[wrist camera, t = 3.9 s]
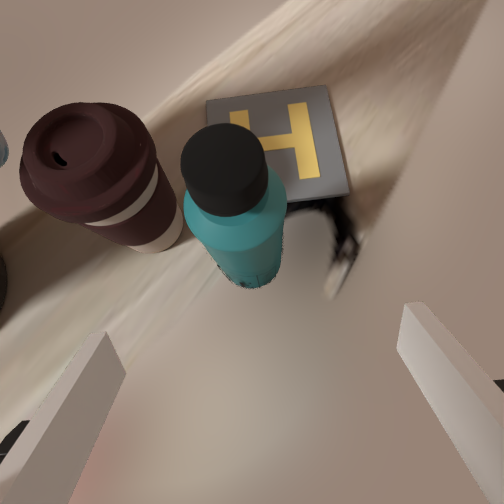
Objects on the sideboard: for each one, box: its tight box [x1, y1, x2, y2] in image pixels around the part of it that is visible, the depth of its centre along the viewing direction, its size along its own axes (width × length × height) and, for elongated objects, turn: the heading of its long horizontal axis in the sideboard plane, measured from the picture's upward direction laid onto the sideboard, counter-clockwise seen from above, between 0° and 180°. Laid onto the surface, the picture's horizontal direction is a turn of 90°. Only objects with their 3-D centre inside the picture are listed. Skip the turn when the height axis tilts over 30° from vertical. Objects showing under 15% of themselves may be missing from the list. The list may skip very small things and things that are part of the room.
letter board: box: [206, 85, 350, 203], centre depth 35 cm, size 16×16×1 cm
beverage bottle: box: [181, 123, 287, 289], centre depth 22 cm, size 6×7×20 cm
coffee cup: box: [19, 102, 183, 253], centre depth 26 cm, size 10×10×15 cm
